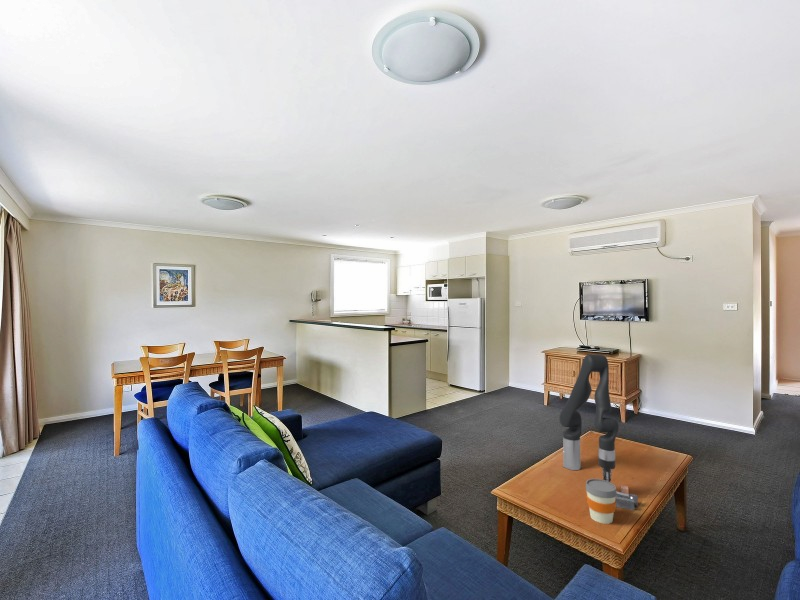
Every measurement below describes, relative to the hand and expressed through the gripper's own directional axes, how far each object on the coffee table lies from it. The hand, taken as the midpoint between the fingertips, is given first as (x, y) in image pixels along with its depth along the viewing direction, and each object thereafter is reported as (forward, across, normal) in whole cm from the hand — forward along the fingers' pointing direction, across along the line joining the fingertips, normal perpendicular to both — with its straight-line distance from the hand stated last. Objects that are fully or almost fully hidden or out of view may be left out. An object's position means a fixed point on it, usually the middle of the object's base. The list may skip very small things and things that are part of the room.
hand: (607, 490), depth 192 cm
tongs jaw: (+2, +10, +3) cm, 10 cm away
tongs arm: (+2, +4, +4) cm, 6 cm away
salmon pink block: (+2, -1, +8) cm, 8 cm away
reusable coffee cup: (+2, +24, -3) cm, 24 cm away
